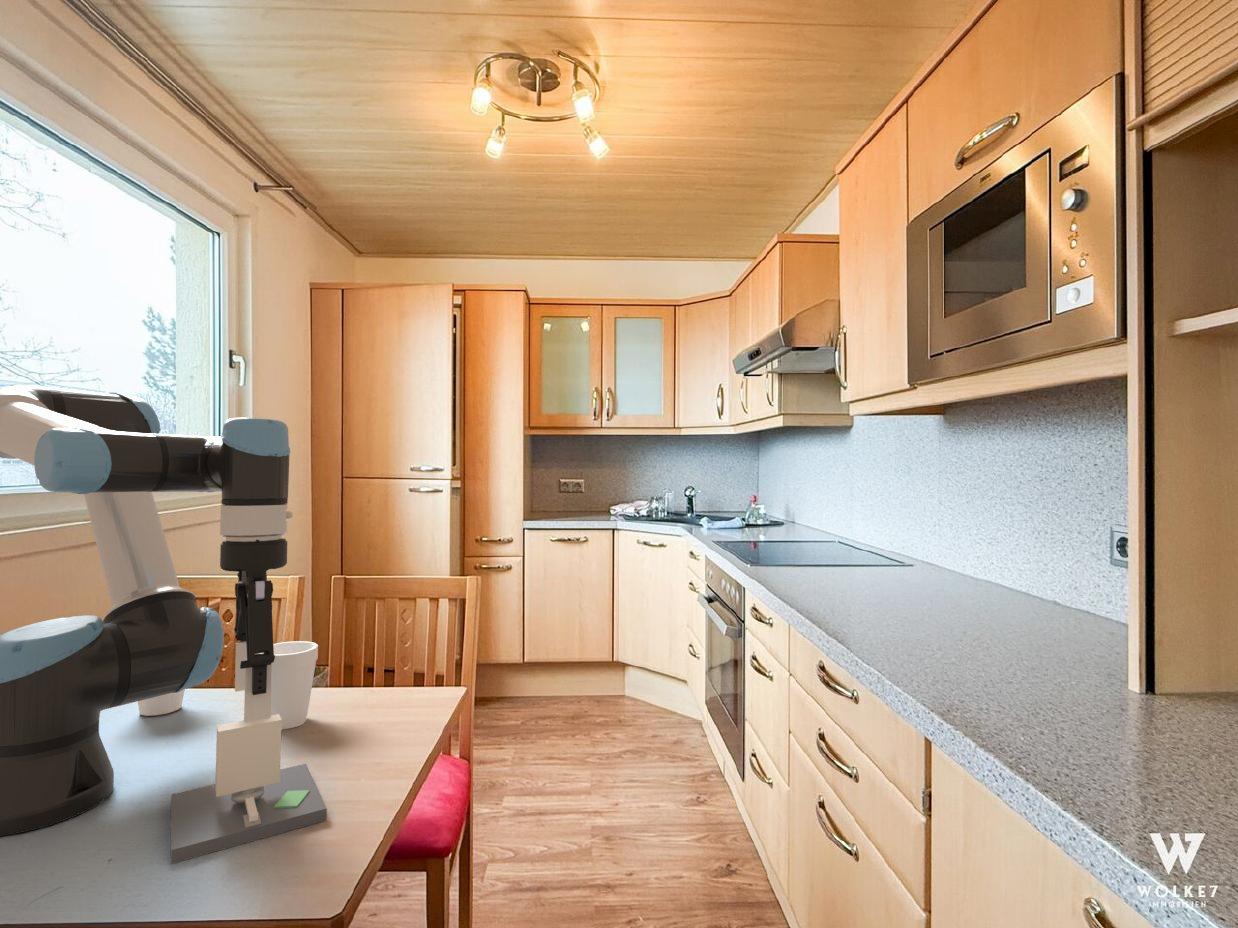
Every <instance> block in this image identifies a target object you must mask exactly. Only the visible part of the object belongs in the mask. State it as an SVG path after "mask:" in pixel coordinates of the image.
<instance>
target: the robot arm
mask: <svg viewBox="0 0 1238 928" xmlns="http://www.w3.org/2000/svg"><path fill="white" fill-rule="evenodd" d="M161 431H162V430H161V424H160V421H159V418H158V415H157V413H156V411H155V410H154V408H153V407H152V406H151V405H150V403H149V402H147V400H144V399H143V398H141V397H138V396H133V395H126V394H123V393H120V392H119V393H118V392H106V393H105V392H95V391H88V390H78V389H71V388H70V389H69V388H63V387H62V388H60V387H50V386H49V387H48V386H43V385H23V384H22V385H12V386H4V387H0V459H7V460H8V459H9V460H15V459H16V460H17V459H18V460H20V461H22V462H25V463H27V464H30V465H32V466H34V472H35V476H36V478H37V480H38V482H39V485H40V486H41V487H42V489H43V488H44V490H46V491H49V492H53V493H70V494H71V493H72V494H77V495H78V494H79V495H83V496H84V499H85V504H86V507H87V512H88V516H89V520H90V524H91V527H92V531H93V534H94V535H93V536H94V540H95V543H96V547H97V552H98V554H99V559H100V564H101V567H102V569H103V575H104V577H105V578H104V579H105V582H106V587H107V590H108V594H109V598H110V599H109V600H110V602H111V606H112V607H111V608H110V609H109V610H108V611H107V612H106V613H105V614H104V616H103V617H102V618H101V617H100V616H97V615H91V614H87V615H82V614H81V615H74V616H70V617H65V616H64V617H60V618H53V619H48V620H43V621H38V622H35V623H31V624H27V625H24V626H20V627H17V628H13V629H12V630H9V631H7V632H4V633H2V634H0V836H7V835H8V836H9V835H13V834H19V833H23V832H24V833H26V832H29V831H32V830H37V829H42V828H44V827H47V826H51V825H54V824H57V823H60V822H63V821H66V820H68V819H70V818H74V817H75V816H77V815H80V814H82V813H85V812H86V811H89V810H90V809H93V808H95V807H96V806H97V805H100V804H101V803H102V802H103V801H105V800H106V799H107V798H108V797H109V796H110V795H111V794H112V792H113V790H114V782H115V781H114V780H115V772H114V768H113V765H112V763H111V761H110V758H109V756H108V752H107V749H106V748H105V746H104V743H103V740H102V739H101V736H100V715H101V712H102V711H104V710H107V709H112V708H115V707H116V708H117V707H121V706H124V705H128V704H132V703H138V701H141V700H145V699H149V698H153V697H157V696H161V695H165V694H169V693H178V692H180V691H182V690H183V689H185V690H186V689H190V688H193V687H197V686H199V685H201V684H204V683H206V682H207V681H208V680H209V679H211V677H212V676H213V675H214V673H215V672H216V671H217V668H218V667H219V664H220V662H221V659H222V653H223V650H224V642H225V641H224V637H225V635H224V626H223V622H222V618H221V616H220V614H219V612H217V611H216V610H215V609H214V608H211V607H207V606H203V607H199V605H198V602H197V598H196V596H195V593H194V592H193V591H191V590H188V589H185V588H183V587H180V583H179V580H178V576H177V573H176V569H175V565H174V563H173V558H172V555H171V553H170V549H169V545H168V542H167V539H166V536H165V532H164V529H163V525H162V521H161V518H160V516H159V512H158V508H157V506H156V502H155V499H154V494H153V493H161V492H163V493H167V492H169V493H173V492H174V493H175V492H177V493H179V492H181V493H184V492H185V493H187V492H188V493H190V492H198V493H204V492H207V493H214V492H215V493H216V492H221V504H220V524H219V525H220V528H219V529H220V531H219V534H220V536H222V537H225V540H222V543H220V549H219V550H220V551H219V552H220V553H219V555H220V557H219V566H220V569H221V570H224V571H225V572H236V574H237V578H238V579H237V580H238V582H235V583H234V593H235V594H234V596H235V608H236V609H235V610H236V611H235V613H236V614H235V624H234V625H235V627H234V629H233V630H234V632H235V634H234V635H235V637H234V638H235V639H236V642H235V659H234V660H235V662H234V663H235V665H234V667H235V668H234V670H235V671H234V692H236V693H237V692H241V691H244V704H243V705H244V707H243V708H244V709H243V710H244V713H243V716H244V717H243V721H244V722H245V723H247V722H253V721H258V720H263V719H269V718H271V674H272V663H273V662H274V659H275V655H274V648H273V644H274V630H273V628H274V626H273V599H272V597H273V592H274V584H273V582H272V580H270V579H269V580H268V575H267V572H268V570H277V569H281V568H284V567H285V566H286V565H287V564H288V540H287V539H286V538H285V537H283V536H284V535H286V533H288V520H287V519H292V518H293V514H294V513H293V512H292V511H291V510H290V511H289V510H288V503H289V502H288V501H289V500H288V498H289V481H290V479H289V478H290V477H289V476H290V454H291V448H290V442H289V441H290V440H289V427H288V425H287V424H286V423H285V422H284V421H282V420H278V419H271V418H262V417H261V418H259V417H258V418H257V417H255V418H254V417H233V418H229V419H227V420H226V421H225V422H224V424H223V428H222V434H221V435H220V436H201V435H187V434H186V435H185V434H169V433H168V434H167V433H166V434H165V433H160V432H161ZM287 510H288V511H287ZM259 653H263V654H259Z"/></svg>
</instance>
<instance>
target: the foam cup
mask: <svg viewBox="0 0 1238 928" xmlns="http://www.w3.org/2000/svg"><path fill="white" fill-rule="evenodd" d="M273 648H274V655H275V659H274V662H273V663H272V674H271V716H272V715H277V714H279V715H280V718H281V731H282V730H288V729H292V728H296V727H299V726H301V725H303V724H304V723H306V721H307V717H308V713H309V706H310V700H311V696H312V695H311V694H312V688H313V683H314V682H313V681H314V676H315V669H316V663H317V660H318V658H319V657H318V656H319V644H317V643H316V642H312V641H308V640H307V641H306V640H305V641H304V640H296V641H295V640H293V641H283V642H282V641H281V642H277V643H273ZM259 654H263V653H259Z"/></svg>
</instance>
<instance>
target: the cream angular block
mask: <svg viewBox="0 0 1238 928" xmlns="http://www.w3.org/2000/svg"><path fill="white" fill-rule="evenodd" d="M215 743H216V744H215V745H216V747H215V748H216V749H215V776H214V777H215V781H214V783H215V792H216V797H218V796H223V795H227V794H231V793H232V794H231V800H232V801H233V802H236V803H241V804H245V805H246V810H247V814H248V819H249V822H251V821H255V820H258V812H257V808H256V805H255V801H254V800H256V799H258V798H259V797H261V796H262V795H263V794H264V787H263V786H265V785H269V784H273V783H277V782H280V769H281V754H282V753H281V751H282V749H281V748H282V730H281V718H280V715H279V714H277V715H272V716H271V718H269V719H263V720H258V721H253V722H247V723H245V722H244V720H240V721H239V720H238V721H234V722H228V723H223V724H217V725H216V741H215Z"/></svg>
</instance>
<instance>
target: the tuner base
mask: <svg viewBox="0 0 1238 928" xmlns="http://www.w3.org/2000/svg"><path fill="white" fill-rule="evenodd" d="M311 773H312V772H311V771H310V769H309V767H308V765H307V763H304V764H303V763H302V764H298V765H294V766H290V767H286V768H282V769H281V768H280V782H277V783H273V784H269V785H265V786H263V787H264V794H263V795H262V796H261V797H259V798H258V799H256V800H254V801H255V805H256V808H257V812H258V820H255V821H251V822H249V819H248V814H247V810H246V805H245V804H241V803H236V802H233V801H232V800H231V794H232V793H231V794H227V795H223V796H218V797H216V792H215V784H211V785H210V784H209V785H207V786H206V785H205V786H203V787H197V788H193V789H188V790H184V791H183V790H182V791H180V792H174V793H171V796H170V797H171V798H170V864H174V863H175V864H177V863H178V862H182V861H185V860H186V861H187V860H190V859H193V858H197V857H200V856H203V855H207V854H211V853H214V852H218V851H221V850H225V849H229V848H233V847H236V846H240V845H243V844H247V843H250V842H255V841H257V840H260V839H265V838H269V837H271V836H275V835H279V834H283V833H286V832H291V831H293V830H298V829H300V828H304V827H308V826H312V825H315V824H318V823H323V822H325V821H327V815H328V814H327V810H328V809H327V806H326V804H325V802H324V800H323V798H322V795H321V793H320V790H319V788H318V787H317V785H316V782H315V780H314V778H313V775H312V774H311Z"/></svg>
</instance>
